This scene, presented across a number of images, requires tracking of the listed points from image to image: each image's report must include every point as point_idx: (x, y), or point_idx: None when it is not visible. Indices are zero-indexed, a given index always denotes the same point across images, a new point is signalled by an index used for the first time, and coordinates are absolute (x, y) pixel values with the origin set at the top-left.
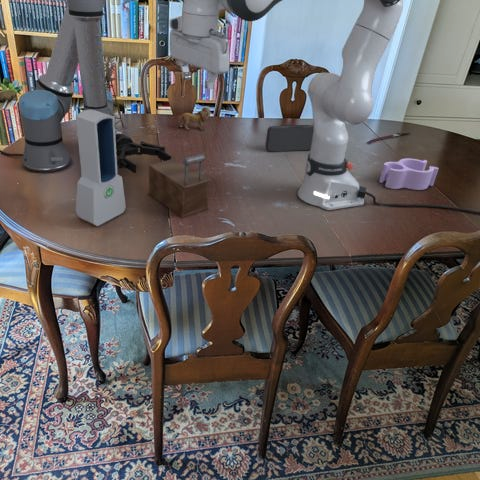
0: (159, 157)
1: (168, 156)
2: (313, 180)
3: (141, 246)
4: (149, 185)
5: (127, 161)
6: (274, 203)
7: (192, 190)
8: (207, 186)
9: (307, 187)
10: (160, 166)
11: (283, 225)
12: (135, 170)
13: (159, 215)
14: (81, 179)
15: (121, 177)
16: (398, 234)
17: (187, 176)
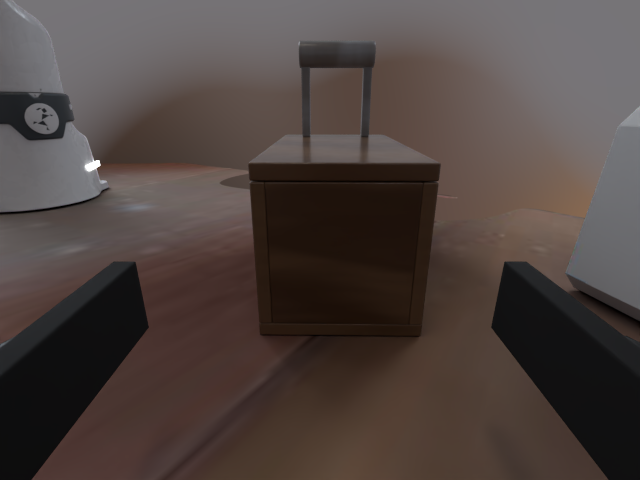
0: (31, 463)
1: (128, 270)
2: (72, 142)
3: (519, 219)
4: (425, 286)
5: (610, 329)
6: (137, 210)
7: None
8: None
9: (73, 167)
10: (384, 154)
11: (220, 191)
12: (503, 307)
13: (437, 253)
14: None
15: (620, 126)
16: (134, 166)
17: (362, 111)
